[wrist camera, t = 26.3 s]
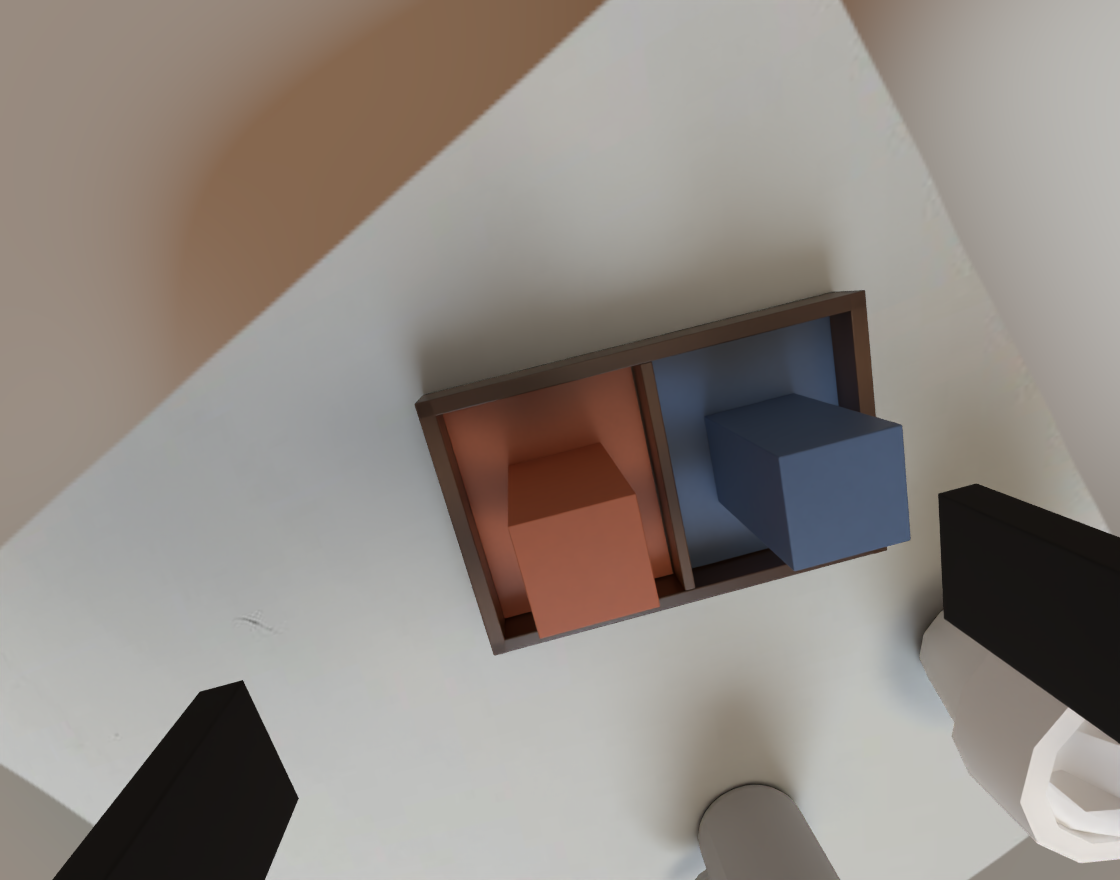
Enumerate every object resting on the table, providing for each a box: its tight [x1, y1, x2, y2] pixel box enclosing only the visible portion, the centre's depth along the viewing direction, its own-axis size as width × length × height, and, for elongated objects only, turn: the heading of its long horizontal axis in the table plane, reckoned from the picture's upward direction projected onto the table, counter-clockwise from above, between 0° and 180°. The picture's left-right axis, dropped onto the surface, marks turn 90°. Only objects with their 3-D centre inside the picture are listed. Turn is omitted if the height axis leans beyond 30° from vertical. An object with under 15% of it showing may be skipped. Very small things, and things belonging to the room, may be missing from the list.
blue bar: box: [704, 393, 911, 571], centre depth 25 cm, size 5×5×8 cm
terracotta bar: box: [508, 442, 660, 639], centre depth 24 cm, size 5×5×8 cm
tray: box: [415, 290, 887, 655], centre depth 28 cm, size 14×22×3 cm, turn 104°
